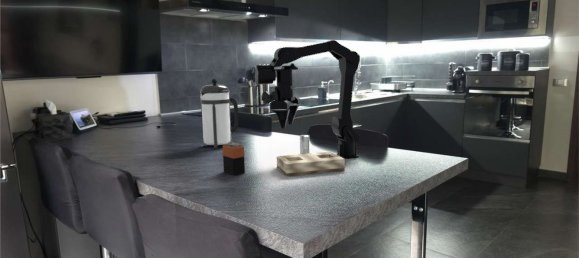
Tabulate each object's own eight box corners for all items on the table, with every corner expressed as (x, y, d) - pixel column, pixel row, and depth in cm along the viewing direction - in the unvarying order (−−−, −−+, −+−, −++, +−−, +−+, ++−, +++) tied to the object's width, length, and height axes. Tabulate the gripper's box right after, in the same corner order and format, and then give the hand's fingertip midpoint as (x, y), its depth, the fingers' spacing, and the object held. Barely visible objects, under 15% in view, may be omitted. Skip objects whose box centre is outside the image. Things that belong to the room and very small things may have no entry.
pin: (307, 158, 150) (307, 134, 149) (310, 160, 147) (310, 136, 146) (298, 158, 149) (298, 135, 148) (301, 160, 146) (301, 136, 145)
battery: (234, 175, 128) (233, 145, 126) (223, 171, 133) (221, 142, 131) (245, 173, 131) (244, 143, 129) (234, 169, 136) (232, 140, 134)
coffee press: (234, 149, 170) (231, 78, 165) (196, 149, 170) (192, 79, 165) (239, 141, 187) (237, 77, 182) (205, 142, 187) (202, 78, 183)
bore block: (330, 162, 143) (330, 151, 142) (344, 170, 131) (344, 158, 131) (276, 167, 137) (276, 156, 136) (286, 176, 126) (286, 164, 125)
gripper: (271, 82, 152) (273, 122, 155) (254, 85, 135) (256, 130, 137) (299, 81, 149) (301, 122, 152) (285, 84, 131) (287, 130, 134)
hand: (286, 126), depth 144 cm, fingers open, 9 cm apart
